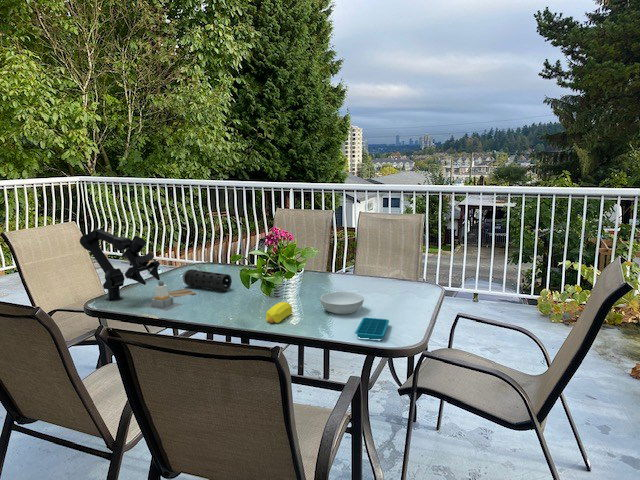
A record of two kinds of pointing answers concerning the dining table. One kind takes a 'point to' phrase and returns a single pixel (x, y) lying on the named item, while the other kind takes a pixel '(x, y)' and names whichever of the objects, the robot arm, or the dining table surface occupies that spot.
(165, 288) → the plug
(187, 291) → the pad
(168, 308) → the socket panel
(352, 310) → the serving bowl
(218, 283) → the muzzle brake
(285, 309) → the yellow oblong piece
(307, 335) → the dining table surface
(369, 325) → the ice cube tray
